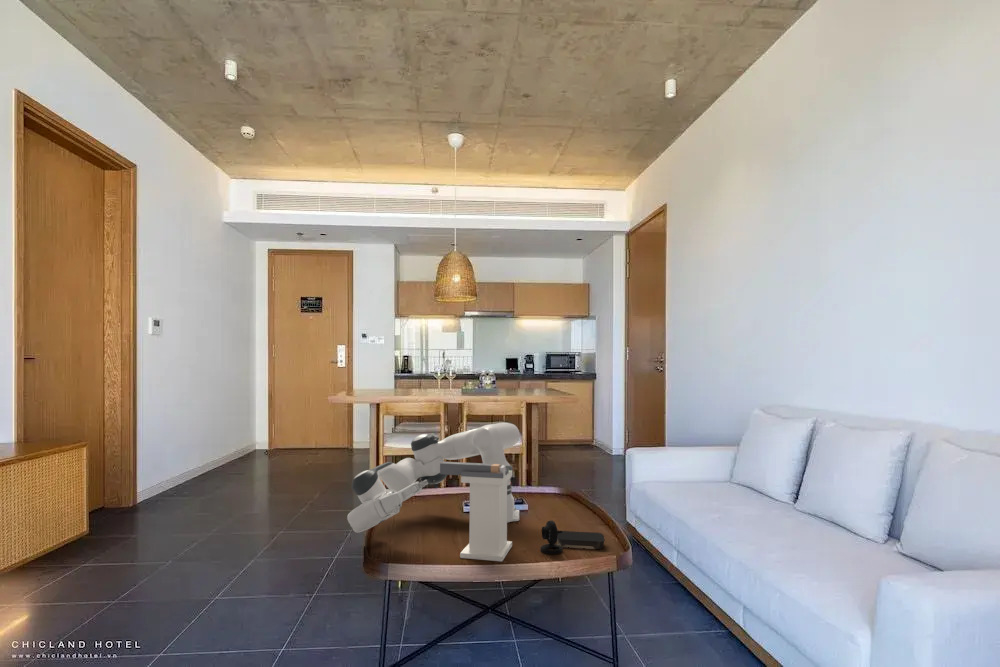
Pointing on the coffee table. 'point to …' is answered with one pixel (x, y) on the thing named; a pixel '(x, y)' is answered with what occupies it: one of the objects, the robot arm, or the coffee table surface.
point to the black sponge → (581, 540)
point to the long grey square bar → (467, 468)
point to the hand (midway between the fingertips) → (421, 484)
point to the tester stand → (487, 515)
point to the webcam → (551, 538)
